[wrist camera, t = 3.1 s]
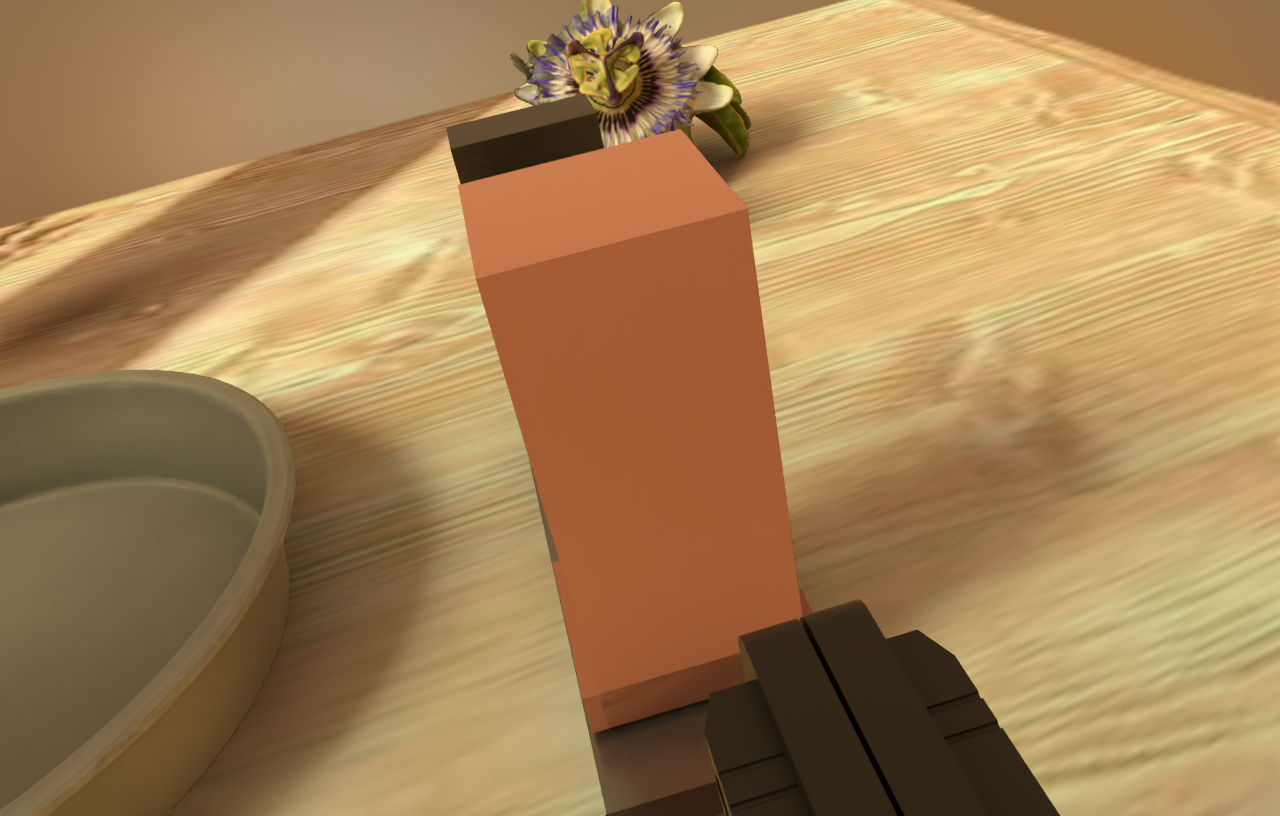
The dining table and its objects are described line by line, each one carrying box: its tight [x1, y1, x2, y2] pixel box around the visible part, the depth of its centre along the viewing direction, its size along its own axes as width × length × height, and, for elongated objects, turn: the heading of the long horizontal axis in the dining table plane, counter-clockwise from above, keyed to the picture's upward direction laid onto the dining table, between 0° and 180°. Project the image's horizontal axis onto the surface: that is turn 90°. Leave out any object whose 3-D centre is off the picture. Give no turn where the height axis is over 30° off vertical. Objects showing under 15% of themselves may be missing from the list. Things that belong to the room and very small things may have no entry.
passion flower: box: [511, 0, 751, 158], centre depth 56 cm, size 11×11×12 cm
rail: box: [447, 93, 725, 816], centre depth 34 cm, size 6×31×8 cm, turn 12°
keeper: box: [458, 129, 812, 733], centre depth 24 cm, size 6×5×12 cm
